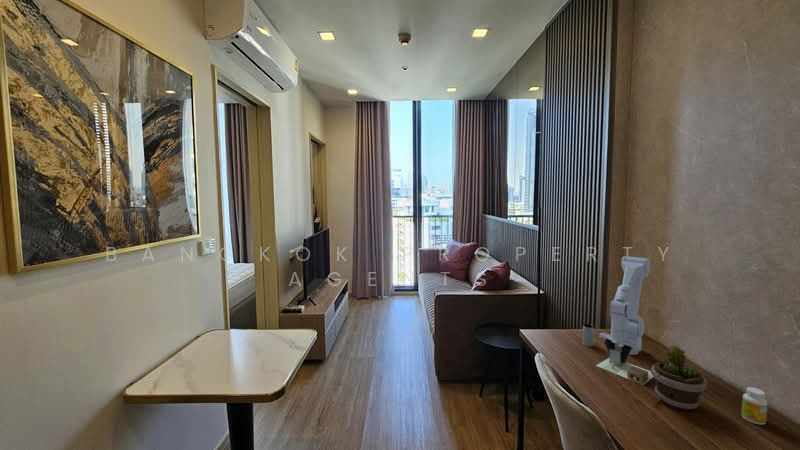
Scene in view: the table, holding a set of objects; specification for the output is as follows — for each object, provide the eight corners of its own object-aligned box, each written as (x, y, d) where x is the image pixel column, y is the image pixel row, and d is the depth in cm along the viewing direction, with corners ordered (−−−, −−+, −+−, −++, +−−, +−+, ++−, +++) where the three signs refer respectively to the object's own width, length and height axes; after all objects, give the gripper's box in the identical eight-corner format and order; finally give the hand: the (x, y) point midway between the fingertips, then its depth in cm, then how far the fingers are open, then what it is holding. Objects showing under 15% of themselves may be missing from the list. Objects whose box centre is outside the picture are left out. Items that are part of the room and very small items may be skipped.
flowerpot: (711, 422, 104) (716, 362, 102) (651, 406, 112) (654, 350, 110) (700, 397, 116) (704, 343, 114) (646, 385, 124) (649, 334, 123)
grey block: (615, 358, 142) (616, 345, 142) (626, 362, 139) (626, 348, 138) (609, 362, 139) (609, 349, 138) (619, 366, 135) (620, 352, 135)
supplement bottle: (736, 414, 107) (738, 386, 106) (751, 413, 108) (753, 385, 107) (755, 425, 102) (757, 396, 101) (771, 424, 102) (773, 395, 102)
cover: (633, 373, 130) (633, 366, 130) (647, 379, 126) (648, 371, 126) (627, 377, 127) (627, 370, 127) (642, 383, 123) (642, 375, 123)
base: (610, 359, 144) (611, 352, 144) (657, 376, 130) (657, 369, 129) (595, 368, 137) (595, 361, 136) (642, 388, 123) (643, 379, 122)
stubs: (636, 376, 128) (636, 373, 128) (640, 378, 127) (641, 374, 126) (632, 380, 126) (632, 376, 126) (636, 381, 125) (636, 377, 124)
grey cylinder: (589, 349, 153) (590, 328, 152) (580, 345, 157) (580, 325, 156) (595, 347, 155) (596, 326, 154) (586, 343, 159) (586, 323, 158)
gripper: (596, 325, 141) (595, 355, 143) (634, 337, 129) (633, 370, 130) (604, 321, 145) (603, 351, 146) (642, 332, 133) (640, 364, 134)
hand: (617, 359), depth 139 cm, fingers closed on grey block, 4 cm apart
